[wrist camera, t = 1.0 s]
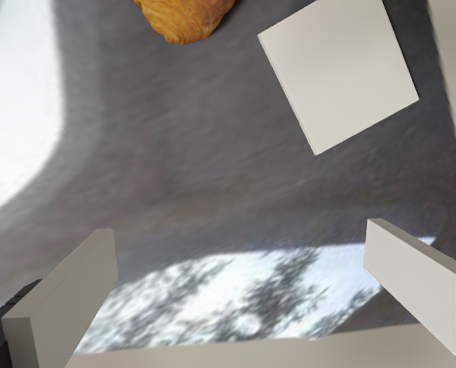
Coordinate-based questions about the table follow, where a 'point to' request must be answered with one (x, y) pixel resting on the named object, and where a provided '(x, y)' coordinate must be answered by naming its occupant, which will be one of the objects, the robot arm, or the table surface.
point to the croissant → (184, 17)
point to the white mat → (339, 68)
